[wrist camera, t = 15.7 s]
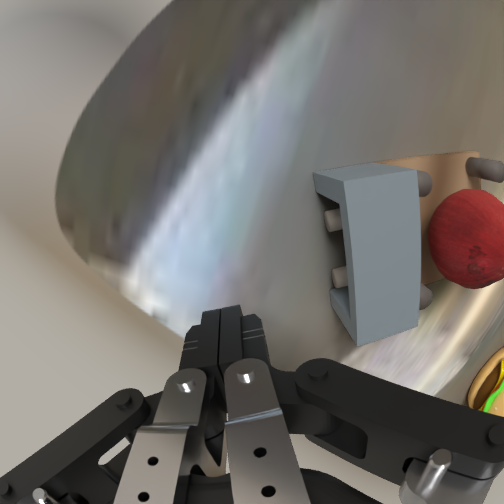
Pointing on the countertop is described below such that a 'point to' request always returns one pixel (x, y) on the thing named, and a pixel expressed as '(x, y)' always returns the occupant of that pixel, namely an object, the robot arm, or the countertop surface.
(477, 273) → the onion
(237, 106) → the countertop surface
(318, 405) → the robot arm
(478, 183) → the pin seat
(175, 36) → the countertop surface
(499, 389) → the hamburger
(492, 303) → the countertop surface
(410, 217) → the housing
